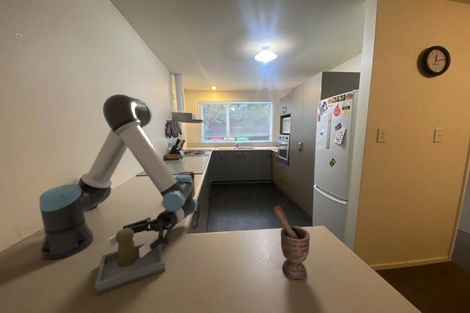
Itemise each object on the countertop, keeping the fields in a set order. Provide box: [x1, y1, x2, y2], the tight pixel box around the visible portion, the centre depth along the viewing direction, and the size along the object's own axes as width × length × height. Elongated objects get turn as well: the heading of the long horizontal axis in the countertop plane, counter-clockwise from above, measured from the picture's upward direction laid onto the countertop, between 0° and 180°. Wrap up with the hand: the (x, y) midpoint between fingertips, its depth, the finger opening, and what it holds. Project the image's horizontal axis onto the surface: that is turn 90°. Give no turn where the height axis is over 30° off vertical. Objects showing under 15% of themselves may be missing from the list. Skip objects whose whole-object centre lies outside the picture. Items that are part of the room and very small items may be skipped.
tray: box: [94, 242, 166, 296], centre depth 61 cm, size 18×14×3 cm
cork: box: [115, 228, 138, 267], centre depth 62 cm, size 6×6×11 cm
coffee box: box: [179, 171, 196, 197], centre depth 125 cm, size 9×6×16 cm
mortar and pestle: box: [273, 205, 311, 280], centre depth 58 cm, size 12×9×20 cm
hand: (123, 248), depth 57 cm, fingers open, 13 cm apart
